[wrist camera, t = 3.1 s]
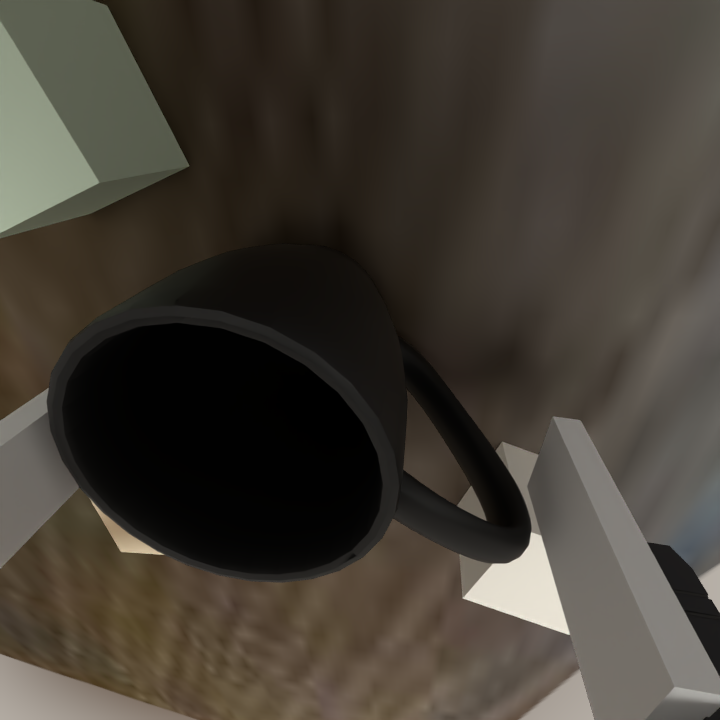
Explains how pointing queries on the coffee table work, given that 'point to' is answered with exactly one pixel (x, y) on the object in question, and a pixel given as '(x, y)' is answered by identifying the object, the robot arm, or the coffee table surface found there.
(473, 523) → the mug
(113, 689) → the coffee table surface
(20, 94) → the sage cube
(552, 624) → the cream cube
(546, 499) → the robot arm
